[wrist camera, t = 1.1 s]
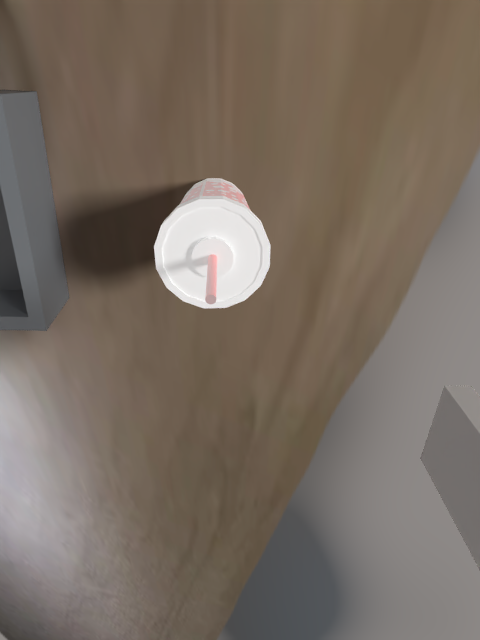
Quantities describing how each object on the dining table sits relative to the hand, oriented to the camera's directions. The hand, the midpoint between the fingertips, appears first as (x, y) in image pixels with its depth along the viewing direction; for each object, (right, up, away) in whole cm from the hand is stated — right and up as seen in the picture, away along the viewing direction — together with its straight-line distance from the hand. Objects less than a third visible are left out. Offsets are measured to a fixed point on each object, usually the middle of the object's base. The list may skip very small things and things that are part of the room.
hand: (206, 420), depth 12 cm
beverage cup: (-1, +11, +19) cm, 22 cm away
